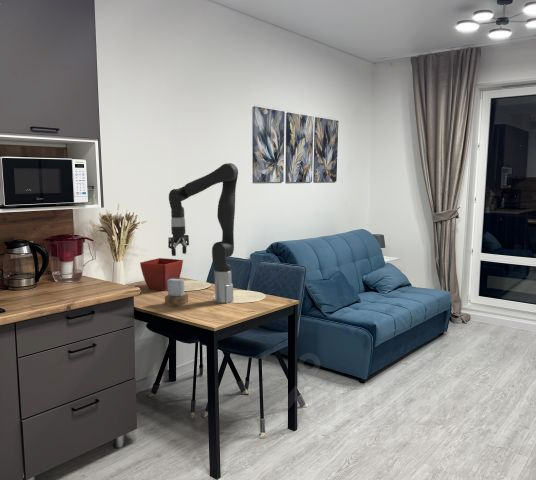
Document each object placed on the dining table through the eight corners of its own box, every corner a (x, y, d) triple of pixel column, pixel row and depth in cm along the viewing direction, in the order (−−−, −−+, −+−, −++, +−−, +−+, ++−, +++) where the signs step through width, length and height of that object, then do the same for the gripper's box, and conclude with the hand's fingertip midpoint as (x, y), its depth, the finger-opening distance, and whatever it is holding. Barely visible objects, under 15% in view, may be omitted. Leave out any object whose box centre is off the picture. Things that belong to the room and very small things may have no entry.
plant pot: (160, 283, 315) (159, 257, 313) (184, 286, 306) (183, 259, 304) (140, 289, 298) (139, 262, 296) (165, 292, 289) (164, 264, 287)
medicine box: (184, 294, 265) (184, 279, 264) (181, 296, 261) (180, 280, 259) (171, 293, 267) (171, 278, 266) (167, 295, 263) (167, 280, 262)
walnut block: (188, 303, 267) (188, 294, 267) (179, 307, 259) (179, 297, 258) (174, 301, 271) (174, 292, 270) (165, 305, 262) (164, 296, 262)
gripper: (174, 227, 259) (175, 257, 261) (192, 224, 271) (192, 253, 273) (164, 226, 263) (165, 256, 265) (181, 224, 275) (182, 252, 277)
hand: (179, 254), depth 269 cm, fingers open, 8 cm apart
